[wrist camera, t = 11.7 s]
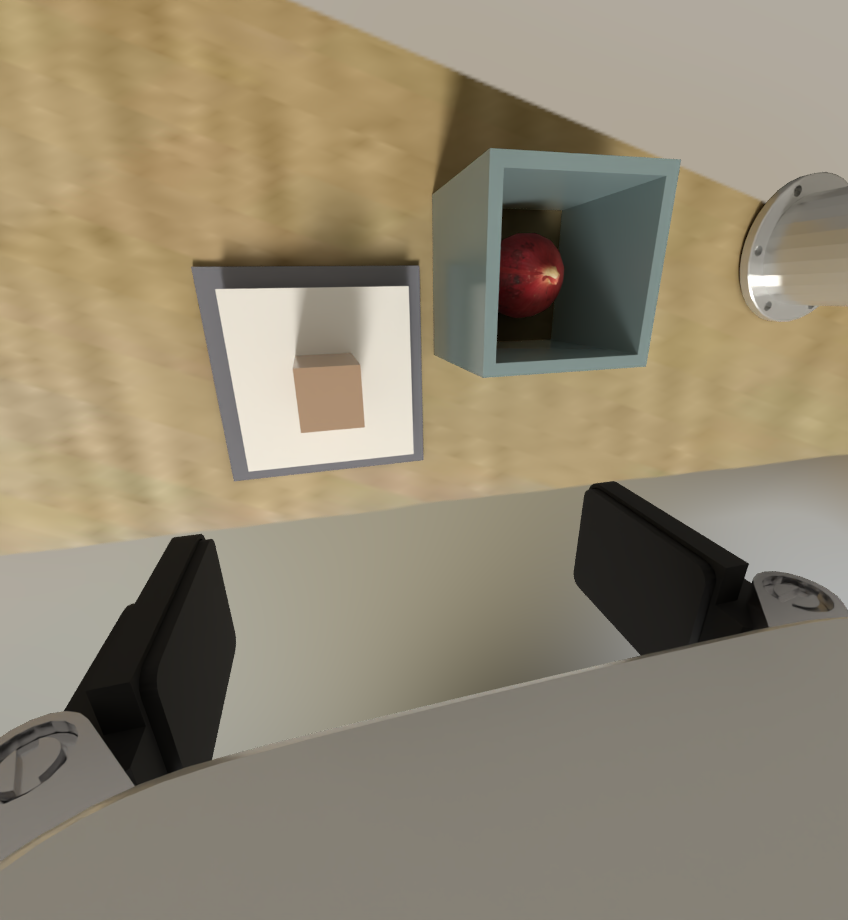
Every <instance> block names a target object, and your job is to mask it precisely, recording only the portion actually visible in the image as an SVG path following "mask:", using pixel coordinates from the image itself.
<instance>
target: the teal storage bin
mask: <svg viewBox="0 0 848 920" xmlns="http://www.w3.org/2000/svg"><path fill="white" fill-rule="evenodd" d="M680 163H681V160H678V159H662V158H645V157H629V156H612V155H596V154H579V153H563V152H546V151H529V150H513V149H496V148H490V149H488V150H487V151H486V152H485V153H483V154H482V155H481V156H480V157H478V158H477V159H476V160H475V161H473V162H472V163H471V164H470V165H468V166H467V167H466V168H465V169H463V170H462V171H461V172H460V173H459V174H457V175H456V176H455V177H454V178H452V179H451V180H450V181H449V182H447V183H446V184H445V185H444V186H442V187H441V188H440V189H439V190H437V191H436V192H435V193H434V194H432V220H433V315H434V355H435V356H438V357H440V358H442V359H444V360H446V361H448V362H450V363H452V364H455V365H457V366H459V367H461V368H463V369H465V370H467V371H470V372H472V373H474V374H476V375H478V376H480V377H482V378H486V377H501V376H515V375H530V374H544V373H559V372H573V371H588V370H602V369H617V368H631V367H646V364H647V358H648V352H649V346H650V340H651V334H652V328H653V322H654V316H655V310H656V304H657V299H658V293H659V287H660V281H661V275H662V269H663V263H664V257H665V251H666V245H667V240H668V234H669V228H670V222H671V216H672V210H673V204H674V198H675V192H676V186H677V181H678V175H679V169H680ZM502 209H525V210H562V216H561V228H560V239H559V252H560V255H561V259H562V262H563V265H564V277H563V283H562V286H561V288H560V291H559V294H558V296H557V297H556V299H555V300H554V308H553V320H552V332H551V339H546V340H525V341H505V342H497V321H498V297H499V273H500V249H501V226H502Z"/></svg>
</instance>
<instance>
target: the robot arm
mask: <svg viewBox="0 0 848 920" xmlns="http://www.w3.org/2000/svg"><path fill="white" fill-rule="evenodd" d="M740 284H741V290H742V294H743V297H744V299H745V302H746V304H747V305H748V307H749V308H750V310H751V311H752V312H753V313H754V314H756V315H757V316H758V317H760V318H762V319H765V320H767V321H778V322H785V321H792V320H796V319H799V318H801V317H803V316H805V315H807V314H809V313H810V312H812V311H813V310H814V309H816V308H817V307H818V306H848V183H847V182H846V181H845V180H844V179H843V178H841V177H839V176H838V175H836V174H832V173H828V172H822V173H814V174H810V175H806V176H802V177H799V178H797V179H795V180H793V181H791V182H789V183H787V184H786V185H785V186H783V187H782V188H781V189H779V190H778V191H777V192H776V193H775V194H774V195H773V196H772V197H771V198H770V199H769V200H768V201H767V203H766V204H765V205H764V207H763V208H762V209H761V211H760V212H759V214H758V215H757V217H756V219H755V221H754V223H753V224H752V226H751V228H750V231H749V233H748V236H747V238H746V241H745V244H744V248H743V252H742V255H741V263H740ZM748 565H749V564H748V563H746V562H745V561H744V560H742V559H740V558H738V557H737V556H735V555H734V554H732V553H731V552H729V551H727V550H726V549H724V548H722V547H721V546H719V545H717V544H716V543H714V542H713V541H711V540H709V539H708V538H706V537H705V536H703V535H701V534H700V533H698V532H696V531H695V530H693V529H692V528H690V527H688V526H686V525H685V524H683V523H682V522H680V521H679V520H677V519H675V518H674V517H672V516H670V515H668V514H667V513H665V512H664V511H662V510H661V509H659V508H657V507H656V506H654V505H653V504H651V503H649V502H648V501H646V500H644V499H643V498H641V497H640V496H638V495H636V494H635V493H633V492H631V491H630V490H628V489H627V488H625V487H623V486H622V485H620V484H618V483H617V482H614V481H612V482H604V483H596V484H593V485H591V486H590V488H589V490H587V491H586V492H585V495H584V502H583V508H582V515H581V523H580V531H579V537H578V545H577V552H576V559H575V566H574V579H575V582H576V584H577V586H578V587H579V588H580V589H581V590H582V591H583V593H584V594H585V595H586V596H587V597H588V598H589V599H590V600H591V601H592V602H593V603H594V605H595V606H596V607H597V608H598V609H599V610H600V611H601V612H602V613H603V614H604V616H605V617H606V618H607V619H608V620H609V621H610V622H611V623H612V624H613V625H614V626H615V627H616V629H617V630H618V631H619V632H620V633H621V634H622V635H623V636H624V637H625V639H627V641H628V642H629V643H630V644H631V645H632V646H633V647H634V648H635V649H636V651H637V652H638V653H639V654H640V655H641V656H637V657H633V658H628V659H624V660H619V661H615V662H611V663H607V664H602V665H598V666H593V667H589V668H585V669H581V670H576V671H572V672H568V673H563V674H559V675H555V676H551V677H546V678H542V679H538V680H533V681H529V682H525V683H520V684H517V685H512V686H508V687H503V688H499V689H495V690H491V691H486V692H482V693H478V694H474V695H469V696H465V697H461V698H457V699H453V700H449V701H444V702H440V703H436V704H432V705H428V706H424V707H420V708H415V709H412V710H407V711H403V712H399V713H394V714H391V715H386V716H382V717H378V718H374V719H370V720H365V721H361V722H357V723H353V724H349V725H345V726H341V727H336V728H333V729H328V730H324V731H320V732H316V733H312V734H308V735H304V736H300V737H296V738H292V739H288V740H284V741H280V742H276V743H272V744H268V745H264V746H261V747H257V748H254V749H250V750H246V751H242V752H239V753H235V754H232V755H228V756H225V757H221V758H217V759H214V760H212V757H213V752H214V747H215V742H216V738H217V733H218V729H219V724H220V719H221V715H222V710H223V704H224V700H225V695H226V691H227V686H228V682H229V677H230V672H231V668H232V663H233V658H234V654H235V647H236V636H235V630H234V626H233V622H232V617H231V612H230V608H229V604H228V599H227V595H226V590H225V586H224V582H223V577H222V573H221V568H220V564H219V559H218V555H217V551H216V546H215V543H214V541H213V539H208V540H205V538H204V536H203V535H202V534H197V535H189V536H182V537H174V538H172V540H171V541H170V543H169V545H168V546H167V548H166V550H165V552H164V554H163V555H162V557H161V559H160V560H159V562H158V564H157V566H156V567H155V569H154V571H153V573H152V575H151V576H150V578H149V580H148V581H147V583H146V585H145V587H144V588H143V590H142V592H141V594H140V596H139V597H138V599H137V601H136V602H135V604H131V605H129V606H127V607H126V608H125V610H124V611H123V612H122V614H121V616H120V617H119V619H118V621H117V622H116V624H115V626H114V627H113V629H112V631H111V632H110V634H109V636H108V638H107V639H106V641H105V643H104V644H103V646H102V648H101V649H100V651H99V653H98V654H97V656H96V658H95V660H94V661H93V663H92V665H91V666H90V668H89V670H88V671H87V673H86V675H85V676H84V678H83V680H82V681H81V683H80V685H79V686H78V688H77V690H76V692H75V693H74V695H73V697H72V698H71V700H70V702H69V703H68V705H67V707H66V708H65V710H64V712H57V713H50V714H47V715H44V716H41V717H38V718H36V719H32V720H30V721H28V722H26V723H24V724H22V725H20V726H18V727H16V728H14V729H12V730H10V731H9V732H8V733H6V734H5V735H3V736H2V737H0V920H848V610H847V608H846V607H845V605H844V603H843V602H842V601H841V600H840V599H839V598H838V596H836V595H835V594H834V593H832V592H831V591H829V590H828V589H827V588H825V587H823V586H821V585H819V584H817V583H815V582H813V581H811V580H808V579H805V578H803V577H800V576H796V575H793V574H789V573H783V572H776V571H769V572H762V573H758V574H757V575H756V576H755V577H754V578H753V581H752V583H750V582H748V581H747V580H746V579H744V577H745V574H746V571H747V568H748Z"/></svg>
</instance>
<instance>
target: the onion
mask: <svg viewBox="0 0 848 920" xmlns="http://www.w3.org/2000/svg"><path fill="white" fill-rule="evenodd" d="M563 277H564V265H563V262H562V259H561V255H560V252H559V251H558V249H557V248H556V247H555V245H554V244H553V243H552V241H551V240H549V239H547V238H545V237H543V236H541V235H539V234H536V233H517V234H515V235H512V236H510V237H508V238H505V239H503V240H502V241H501V249H500V273H499V297H498V311H499V312H500V313H501V314H504V315H507V316H510V317H513V318H523V317H530V316H534V315H536V314H538V313H540V312H542V311H544V310H546V309H547V308H549V306H550V305H551V304H552V303H553V301H554V300H555V299H556V297H557V296H558V294H559V291H560V288H561V286H562V283H563Z"/></svg>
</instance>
